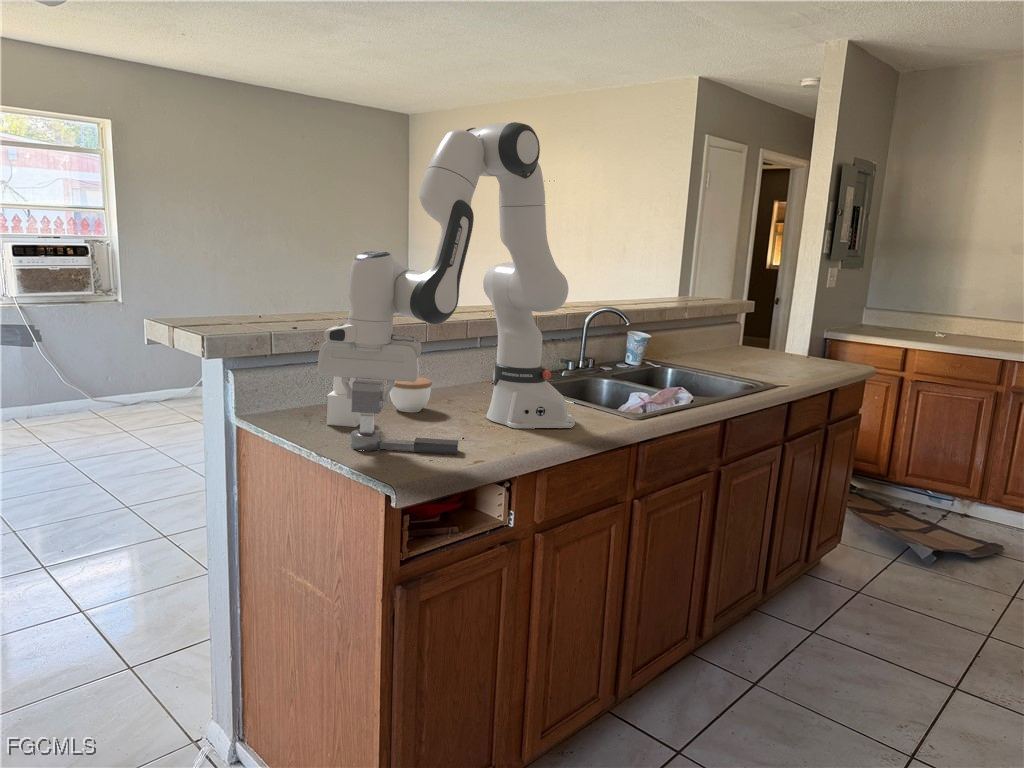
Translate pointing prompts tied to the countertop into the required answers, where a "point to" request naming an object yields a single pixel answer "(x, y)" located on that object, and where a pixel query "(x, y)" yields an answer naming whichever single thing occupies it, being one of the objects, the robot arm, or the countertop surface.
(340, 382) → the medicine bottle
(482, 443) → the countertop surface
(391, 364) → the robot arm
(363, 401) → the grey metal cube
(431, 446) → the ratchet
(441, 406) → the countertop surface
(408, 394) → the lidded jar
